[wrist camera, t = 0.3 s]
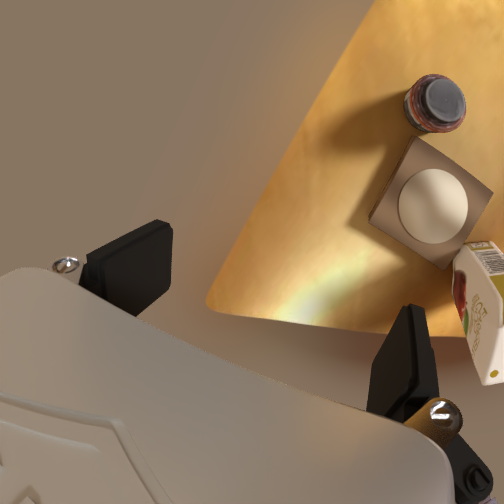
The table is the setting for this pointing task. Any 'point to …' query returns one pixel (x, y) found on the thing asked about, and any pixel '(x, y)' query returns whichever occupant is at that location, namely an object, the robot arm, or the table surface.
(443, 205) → the walnut stand
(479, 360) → the juice carton
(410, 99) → the supplement bottle
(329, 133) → the table surface
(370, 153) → the table surface
